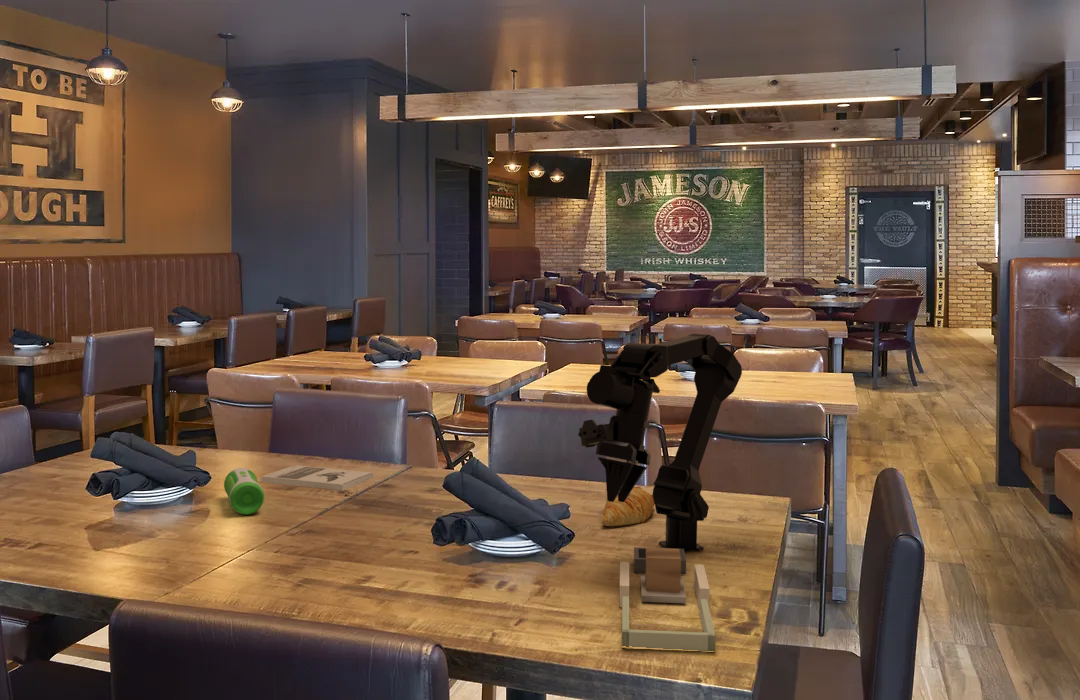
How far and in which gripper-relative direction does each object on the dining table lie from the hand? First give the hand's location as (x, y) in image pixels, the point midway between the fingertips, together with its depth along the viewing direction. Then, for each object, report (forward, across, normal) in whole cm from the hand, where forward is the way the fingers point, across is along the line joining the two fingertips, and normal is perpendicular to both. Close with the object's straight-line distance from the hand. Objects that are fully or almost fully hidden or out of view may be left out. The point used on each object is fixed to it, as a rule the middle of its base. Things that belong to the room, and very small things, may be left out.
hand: (615, 501), depth 170 cm
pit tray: (+10, -8, +8) cm, 15 cm away
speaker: (+18, -21, -86) cm, 90 cm away
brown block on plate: (+13, +5, +12) cm, 18 cm away
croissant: (+4, -38, -5) cm, 39 cm away
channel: (+13, +7, +12) cm, 19 cm away
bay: (+16, +20, +15) cm, 30 cm away
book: (+12, -48, -84) cm, 97 cm away
